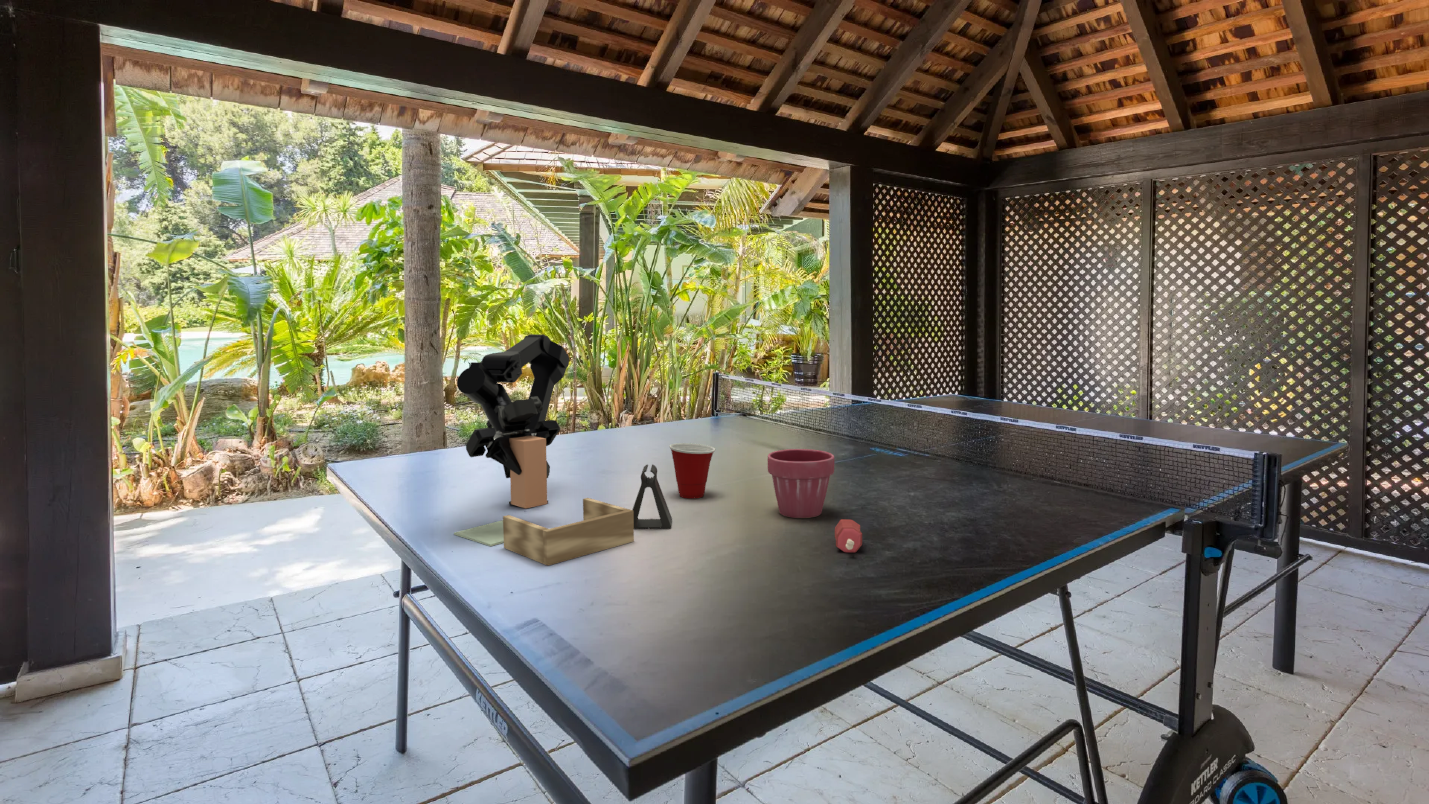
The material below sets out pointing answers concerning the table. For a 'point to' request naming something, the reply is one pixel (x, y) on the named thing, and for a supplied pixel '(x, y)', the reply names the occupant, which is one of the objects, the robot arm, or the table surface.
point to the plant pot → (800, 480)
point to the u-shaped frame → (571, 534)
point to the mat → (485, 534)
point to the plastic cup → (691, 468)
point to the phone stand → (660, 501)
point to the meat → (848, 536)
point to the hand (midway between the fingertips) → (532, 471)
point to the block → (529, 472)
